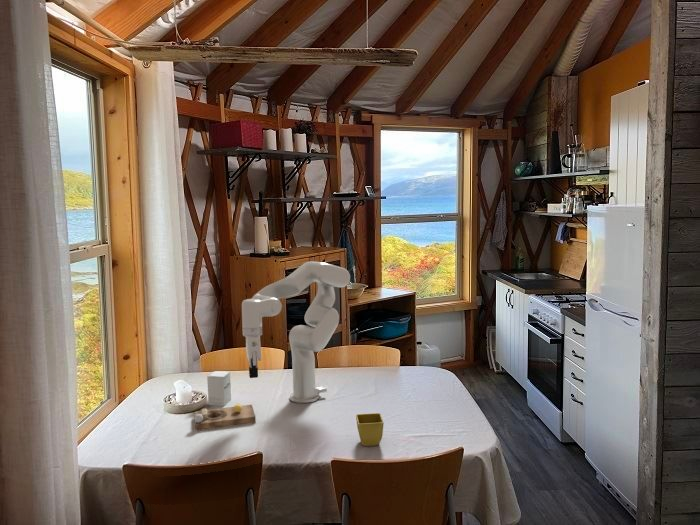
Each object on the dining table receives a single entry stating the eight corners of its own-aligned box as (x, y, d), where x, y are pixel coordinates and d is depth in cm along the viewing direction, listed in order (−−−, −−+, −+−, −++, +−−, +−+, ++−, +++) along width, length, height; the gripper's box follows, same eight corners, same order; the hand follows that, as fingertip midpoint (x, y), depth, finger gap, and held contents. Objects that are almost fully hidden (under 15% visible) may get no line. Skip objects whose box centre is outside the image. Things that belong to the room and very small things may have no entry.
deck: (252, 410, 219) (251, 399, 219) (255, 422, 207) (255, 411, 206) (195, 417, 213) (195, 406, 213) (195, 430, 201) (195, 419, 200)
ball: (241, 410, 213) (241, 402, 213) (242, 413, 210) (242, 405, 210) (233, 411, 212) (233, 403, 212) (234, 414, 209) (233, 406, 209)
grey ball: (203, 420, 204) (202, 412, 204) (203, 423, 201) (202, 415, 201) (194, 421, 203) (193, 413, 203) (194, 424, 200) (194, 416, 200)
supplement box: (224, 406, 225) (223, 376, 223) (208, 405, 226) (206, 376, 225) (231, 399, 232) (230, 371, 230) (215, 398, 233) (214, 370, 232)
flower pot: (356, 438, 192) (355, 413, 191) (380, 436, 192) (380, 412, 191) (358, 449, 183) (358, 424, 182) (384, 448, 184) (383, 422, 183)
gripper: (264, 334, 203) (265, 382, 205) (259, 326, 218) (261, 370, 219) (244, 336, 201) (245, 384, 203) (240, 327, 215) (242, 372, 217)
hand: (253, 377), depth 211 cm, fingers closed
